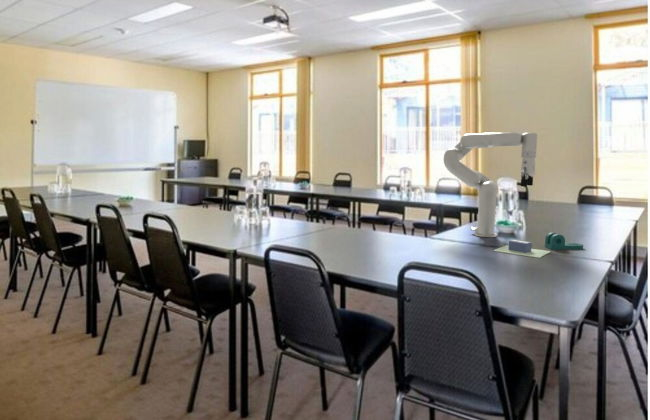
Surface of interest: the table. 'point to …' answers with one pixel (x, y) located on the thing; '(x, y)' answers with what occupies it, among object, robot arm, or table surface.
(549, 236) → the bracket
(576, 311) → the table surface
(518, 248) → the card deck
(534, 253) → the mat
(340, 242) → the table surface
